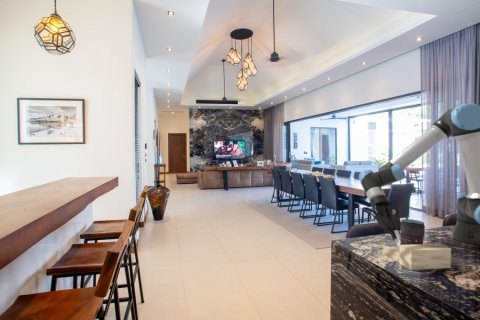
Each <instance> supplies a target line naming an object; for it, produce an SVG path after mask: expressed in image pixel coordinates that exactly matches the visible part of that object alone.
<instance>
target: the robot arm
mask: <svg viewBox="0 0 480 320" xmlns="http://www.w3.org/2000/svg"><path fill="white" fill-rule="evenodd" d="M429 128H430V129H428V130H427V131H426V132H424V133H423V134H422V135H421V136H420V137H418V138H417V139H415V140H414V141H412V142H411V144H409V145H408V146H407V147H405V148H404V149H403V150H402V151H400V152H399V153H398V154H396V156H394V157H393V158H391V160H388V162H387V163H385V164H384V165H382V166H381V167H379V168H378V169H377V171H375V172H374V171H373V170H371V169H368V170H367V169H365V170H362V171H361V172H360V173H359V174H358V180H359V182H360V184H361V186H362V188H363V190H364V192H365V195H366V196H367V199H368V201H369V202H370V205H371V208H372V209H373V210H372V211H371V212H370V215H371V216H372V217H373V219H375V220H376V222H377V223H378V225H379V226H380V228H382V230H383V232H384V233H385V232H387V234H389V235H390V236H391V238H392V240H394V241H395V244H396V246H397V247H398V248H399V249H400V243H401V230H400V229H401V218H400V215H399V213H400V211H399V210H398V209H396V210H395V209H393V207H392V206H391V205H390V201H389V199H388V197H387V195H386V194H385V192H384V189H383V188H382V187H385V186H387V185H390V184H393V183H397V182H400V181H402V180H404V179H405V178H406V173H405V171H404V170H405V169H406V168H408V167H409V166H411V164H413V163H414V162H416V161H417V160H418V159H419V158H421V157H422V156H423V155H425V154H426V153H427V152H428V151H430V150H431V149H433V148H434V147H435V146H436V145H437V144H438V143H440V142H441V141H443V140H447V139H449V138H450V137H452V139H454V140H456V141H457V145H458V149H459V153H460V154H459V155H460V157H461V162H462V166H463V170H464V174H465V179H466V183H467V187H468V191H469V192H459V193H458V194H457V199H456V200H457V203H456V205H457V207H456V212H457V213H456V224H455V226H454V228H453V231H452V233H451V237H452V239H454V240H456V241H458V242H463V243H464V244H465V243H466V244H471V245H478V246H480V105H479V104H477V103H471V102H470V103H462V104H459V105H457V106H454V107H452V108H450V109H448V110H447V111H445V112H444V113H443V114H442V115H441V116H440V117H438V119H437V120H436V121H434V122H433V123H432V124H431V125H430V127H429Z"/></svg>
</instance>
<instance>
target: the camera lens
mask: <svg viewBox="0 0 480 320" xmlns="http://www.w3.org/2000/svg"><path fill="white" fill-rule="evenodd" d="M400 221H401V229H400V233H401V243H400V245H413V244H425V243H424V242H425V241H424V238H425V237H424V236H425V231H426V230H425V222H424V221H421V220H417V219H410V218H409V219H408V218H403V219H400Z"/></svg>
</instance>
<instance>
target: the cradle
mask: <svg viewBox="0 0 480 320" xmlns="http://www.w3.org/2000/svg"><path fill="white" fill-rule="evenodd" d="M381 254H383V255H385V256H387V257H389V258H391V259H392V260H394V261H396V262H397V263H399V264H400V265H402V266H404V267H405V268H406V269H409V270H410V271H413V270H414V271H416V270H417V271H419V270H433V269H434V270H436V269H451V268H452V266H451V265H452V248H450V247H447V246H445V245H442V244H439V243H424V244H413V245H400V248H399V251H398V250H396V249H394V248H392V247H390V246H388V245H382V246H381Z"/></svg>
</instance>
